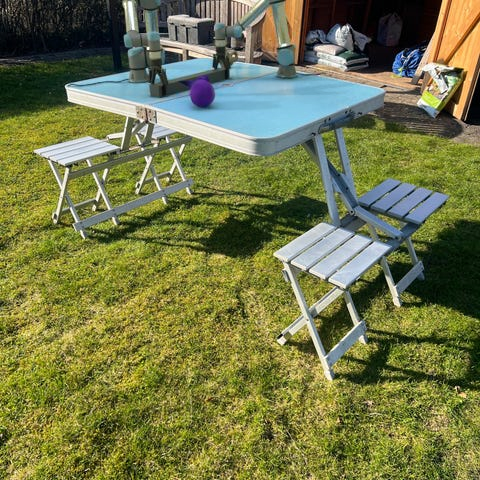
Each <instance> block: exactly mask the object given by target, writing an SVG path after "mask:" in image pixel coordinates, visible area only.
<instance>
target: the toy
mask: <svg viewBox="0 0 480 480" xmlns="http://www.w3.org/2000/svg"><path fill="white" fill-rule="evenodd" d="M179 82H180V83H182V84H184V85H186V86H188V87H189V88H191V89H190V90H189V97H190V101H191V103H192V104H193V105H194V106H196V107H198V108H203V109H205V108H208V107H210V106H211V105H212V104H213V102H214V101H215V98H216V91H215V88H214V85H213V83H212V84H211V83H210V82H209V78H208V76H202V77H198V79H197V81H179Z"/></svg>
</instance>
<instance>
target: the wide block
mask: <svg viewBox="0 0 480 480" xmlns="http://www.w3.org/2000/svg"><path fill="white" fill-rule="evenodd" d="M225 70H226V69H225V68H222V67H217V69H214V68H213V69H212V68H211V69H209V70H205V71H201V72H196V73H192V74H188V75H184V76H180V77H176V78H172V79H167V80H168V85H166V95H167V96H163V93H162V83H161V81H159V82H155V83H154V84H151V83H150V84H148V87H149V96H150V97H153V98H159V99H160V98H164V97H168V96H172V95H176V94H179V93H182V92H186V91H190V89H191V88H189V87H188V86H186V85H184V84H182V83H180V82H179V81H197V79H198V77H202V76H208V78H209V82H210V83H211V84H212V85H213V84H215V83H219V82H223V81H226V80H230V79H231V75H230V74H231V72H230V69H229V74H228V79H225Z"/></svg>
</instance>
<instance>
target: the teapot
mask: <svg viewBox="0 0 480 480" xmlns="http://www.w3.org/2000/svg"><path fill="white" fill-rule="evenodd" d="M225 53H226V55H229V61H230V66H231V67H232V66H233V65H234V63H236V62H237V61H238V59H239V55H238V51H237V50H232V51H228V49H227V48H226V52H225ZM233 56H234V57H233ZM216 59H217V56H216ZM218 65H219V66H220V68H225V66H224V64H223V61H222V60H220V61H219V64H218Z"/></svg>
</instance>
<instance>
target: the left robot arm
mask: <svg viewBox="0 0 480 480" xmlns="http://www.w3.org/2000/svg"><path fill="white" fill-rule="evenodd" d="M121 3H122V7H123V9H124V18H125V27H126V28H125V29H126V34H124V35H123V41H124V46H125V48H130V49H128V50H127V56H128V57H127V58H128V64H129V65H128V66H129V76H128V78H125V79H122V80H116V81H115V80H106V81H105V80H104V81H98V82H94V83H87V84H76V83H69V84H70V85H69V84H68V85H67V87H70V86H75V87H86V86H92V85H96V84H103V83H122V82H125V81H128V82H129V83H133V84H141V83H150V84H154V83H156V78H157V76H158V77H159V80H160V82H161V83H162V93H163V96H165V97H168V96H167V95H166V85H168V80H169V79H168V75H167V70H166V68H164V67H163V65H165V61H166V60H165V59H166V51H165V50H166V49H165V48H164V47H163V45H162V44H161V36H160V31H159V19H158V10H159V8H160V6H161V5H162V4H161V0H121ZM138 7H141V10H143V13H144V19H145V21H144V22H145V29H146V33H139V32H140V31H139V23H138V11H137V9H138ZM147 70H148V71H147ZM72 131H73V134H75V133H76V132H75V129H73V130H72Z"/></svg>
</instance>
